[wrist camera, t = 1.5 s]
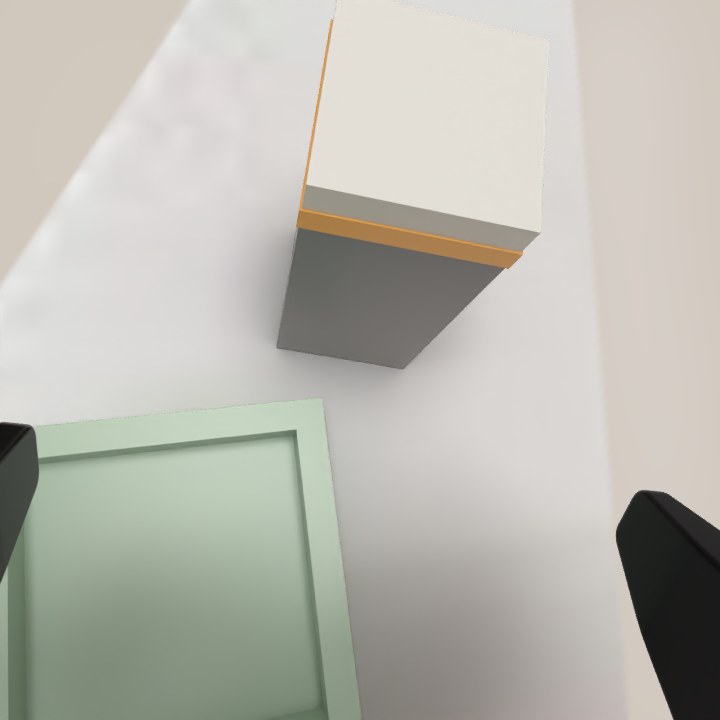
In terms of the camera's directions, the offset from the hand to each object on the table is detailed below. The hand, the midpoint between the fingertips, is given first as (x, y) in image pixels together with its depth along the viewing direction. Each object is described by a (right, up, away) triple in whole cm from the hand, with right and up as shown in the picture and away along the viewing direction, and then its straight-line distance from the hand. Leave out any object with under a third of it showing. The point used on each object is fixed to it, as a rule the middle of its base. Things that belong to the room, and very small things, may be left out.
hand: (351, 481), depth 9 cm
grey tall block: (0, +4, +16) cm, 16 cm away
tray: (-6, -6, +12) cm, 15 cm away
